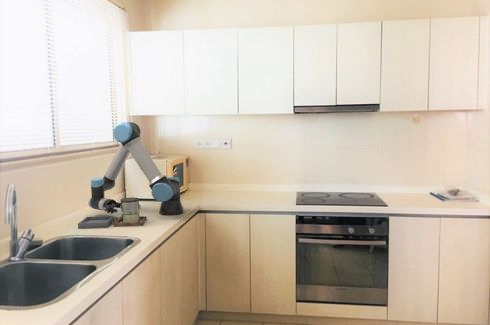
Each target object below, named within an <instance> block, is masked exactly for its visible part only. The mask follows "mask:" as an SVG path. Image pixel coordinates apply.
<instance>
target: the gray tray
mask: <svg viewBox="0 0 490 325" xmlns="http://www.w3.org/2000/svg"><path fill="white" fill-rule="evenodd" d="M113 223H115V215H100V216H99V215H98V216H97V215H96V216H86V217H84V218H83V219H82V220H80V221H79V222H77V229H79V230H80V229H83V230H84V229H107V228H109V227H110V226H111V225H112V224H113Z"/></svg>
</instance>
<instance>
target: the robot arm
mask: <svg viewBox="0 0 490 325" xmlns="http://www.w3.org/2000/svg"><path fill="white" fill-rule="evenodd" d="M112 135H113V138H114V140H115V141H117V143H120V144H119V146H118V147H117V150H116V152H115V153H114V156H113V157H112V159H111V162H110V164H109V165H108V167H107V169H106V172H105V174H104V175H103V177H93V178H91V180H90V193H91V197H90V198H89V200H88V203H87V204H88V206H89V207H90V208H91V209H93V210H98V211H104V212H105V213H106V212H107V213H108V214H109V213H110V214H112V215H113V214H114V213H115V214H119V215H121V214H122V209H121V202H117V201H116V200H115V199H112V198H105V192H107V191H109V190H112V189H114V188H115V185H116V180H117V178H118V176H119V175H120V173H121V171H122V168H123V167H124V165H125V163H126V160H127V159H128V157H129V154H131V156H132V157H133V159H134V161H135V162H136V163H137V165H138V167H139V169H141V171H142V173H143V175H144V176H145V177H146V179H147V180H148V182H149V184H148V187H149V188H150V191H151V195H152V198H153V199H154V200H155V201H156V202H161V203H160V206H159V210H158V211H159V214H160V215H162V216H163V215H164V216H175V215H181V214H183V213H184V206H183V204H182V201H181V180H180V178H179V177H177V176H175V177H172V176H171V177H170V176H168V177H167V175H166V174H163V173H161V171H160V169H159V168H158V166H157V164H156V163H155V162H154V160H153V159H152V157H151V156H150V155H149V153H148V151H147V149H145V147H144V145H143V144H142V142H141V128H140V126H139V124H137V123H135V122H132V121H127V122H126V121H122V122H119V123H116V124H115V126H114V127H113V129H112ZM141 209H142V204H141V203H139V210H141Z"/></svg>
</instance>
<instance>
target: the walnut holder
mask: <svg viewBox="0 0 490 325" xmlns="http://www.w3.org/2000/svg"><path fill="white" fill-rule="evenodd" d="M139 216H140V215H139ZM147 220H148V219H147V215H143V216H140V222H124V223H122V216H120V217H119V218H117V219H116V221H114V222H113V223H114V225H113V226H114V228H116V227H117V228H118V227H119V228H121V227H143V226H144V225H145V223H146V222H147Z"/></svg>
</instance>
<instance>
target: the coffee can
mask: <svg viewBox="0 0 490 325" xmlns="http://www.w3.org/2000/svg"><path fill="white" fill-rule="evenodd" d="M119 201H120V203H121V207H120V208H121V209H122V214H120V215H121V217H122V221H121V223H124V222H141V220H140V209H139V204H140V198H138V197H133V196H132V197H124V198H120V200H119Z"/></svg>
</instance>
